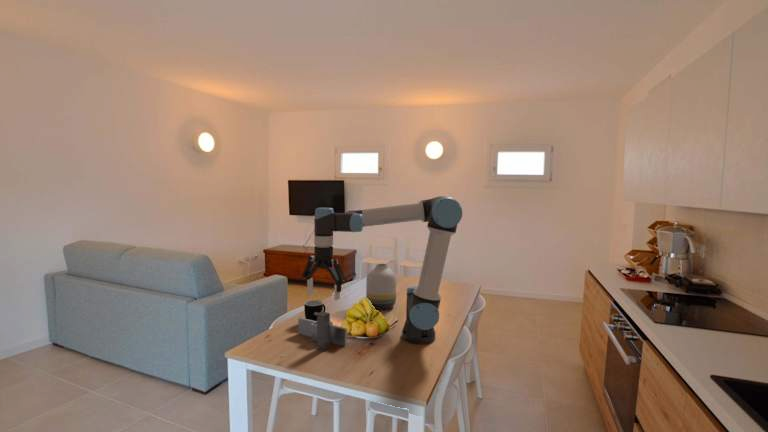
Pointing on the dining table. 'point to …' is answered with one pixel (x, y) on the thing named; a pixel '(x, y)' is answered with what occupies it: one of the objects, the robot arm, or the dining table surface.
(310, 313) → the mug
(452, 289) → the dining table surface
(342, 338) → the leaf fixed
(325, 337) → the pin
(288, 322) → the dining table surface
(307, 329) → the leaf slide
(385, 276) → the vase
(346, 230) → the robot arm
